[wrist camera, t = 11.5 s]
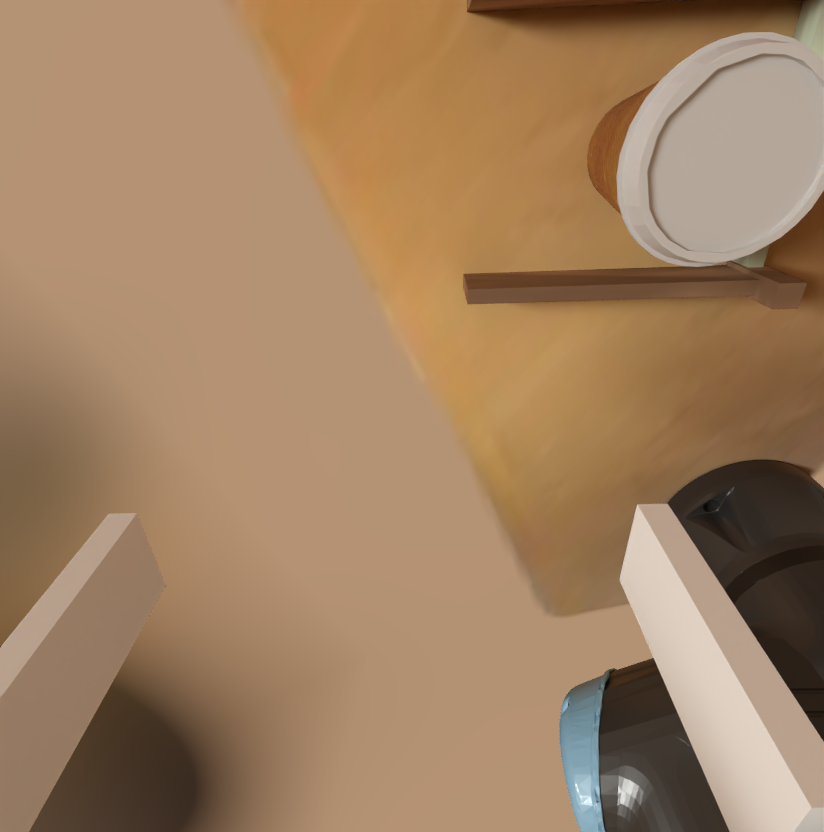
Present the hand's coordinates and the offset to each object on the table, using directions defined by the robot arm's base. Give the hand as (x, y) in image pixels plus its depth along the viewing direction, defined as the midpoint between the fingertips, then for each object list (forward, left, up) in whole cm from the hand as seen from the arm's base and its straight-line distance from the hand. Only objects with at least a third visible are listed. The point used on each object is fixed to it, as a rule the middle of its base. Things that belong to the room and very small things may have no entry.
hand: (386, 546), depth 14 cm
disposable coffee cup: (+8, -15, -27) cm, 32 cm away
